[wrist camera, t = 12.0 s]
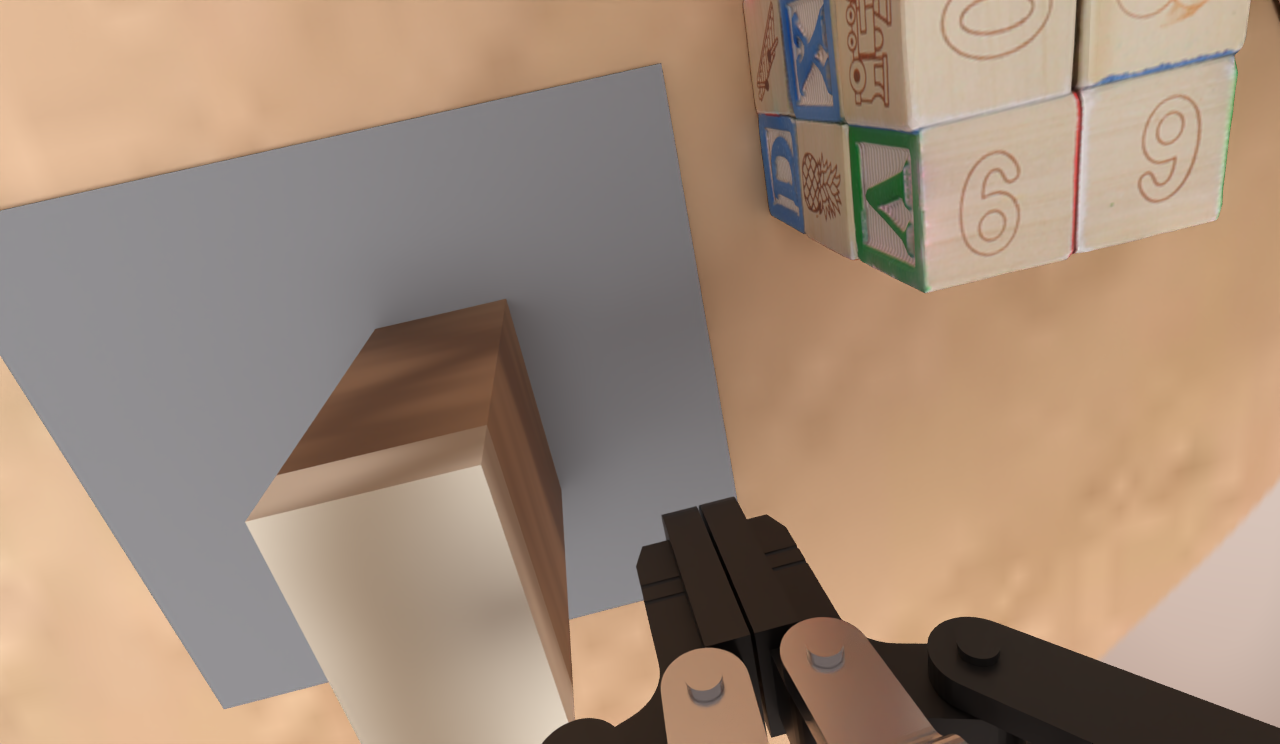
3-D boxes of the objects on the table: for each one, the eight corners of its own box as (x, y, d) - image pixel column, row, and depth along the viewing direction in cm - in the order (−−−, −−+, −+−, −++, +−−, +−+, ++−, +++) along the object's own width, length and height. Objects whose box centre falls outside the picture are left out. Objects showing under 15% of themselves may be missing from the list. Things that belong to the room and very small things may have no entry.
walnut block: (506, 298, 21) (480, 464, 12) (561, 489, 24) (576, 745, 14) (375, 328, 21) (244, 521, 11) (446, 518, 23) (388, 794, 14)
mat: (658, 63, 19) (661, 63, 19) (746, 565, 26) (749, 572, 26) (-68, 225, 18) (-80, 228, 18) (228, 700, 26) (223, 709, 25)
